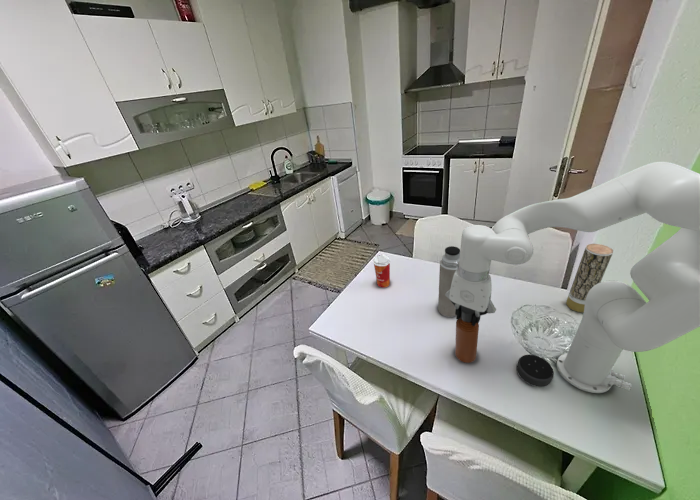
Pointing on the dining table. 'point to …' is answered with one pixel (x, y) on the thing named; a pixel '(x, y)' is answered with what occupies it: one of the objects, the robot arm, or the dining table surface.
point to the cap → (467, 314)
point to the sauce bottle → (466, 341)
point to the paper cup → (382, 270)
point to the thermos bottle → (447, 280)
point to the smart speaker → (535, 370)
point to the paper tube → (588, 274)
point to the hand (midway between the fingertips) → (467, 319)
